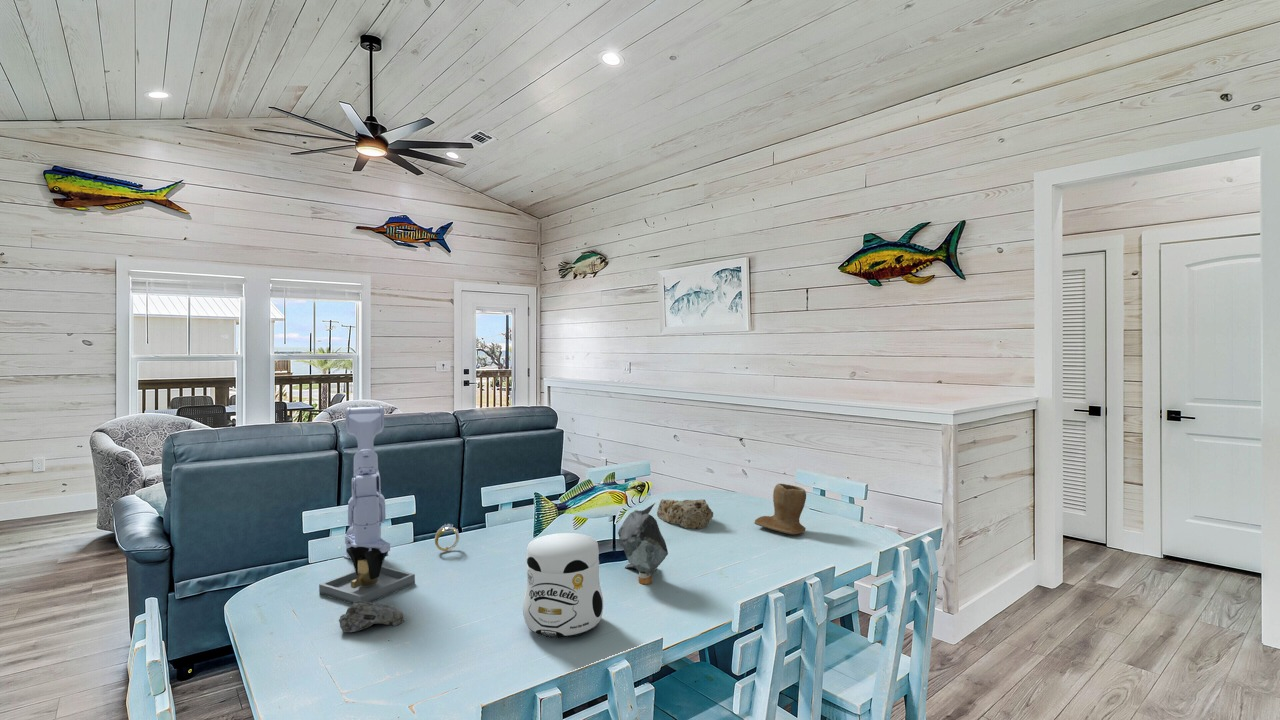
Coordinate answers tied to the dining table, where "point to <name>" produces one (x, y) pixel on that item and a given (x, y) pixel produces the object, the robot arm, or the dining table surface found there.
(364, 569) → the brass short cylinder
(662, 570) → the dining table surface
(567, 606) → the doce de leite jar
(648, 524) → the grey faceted chunk
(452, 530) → the ring
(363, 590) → the tray
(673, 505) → the rock
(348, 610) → the grey rough irregular lump
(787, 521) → the brown flared cylinder
